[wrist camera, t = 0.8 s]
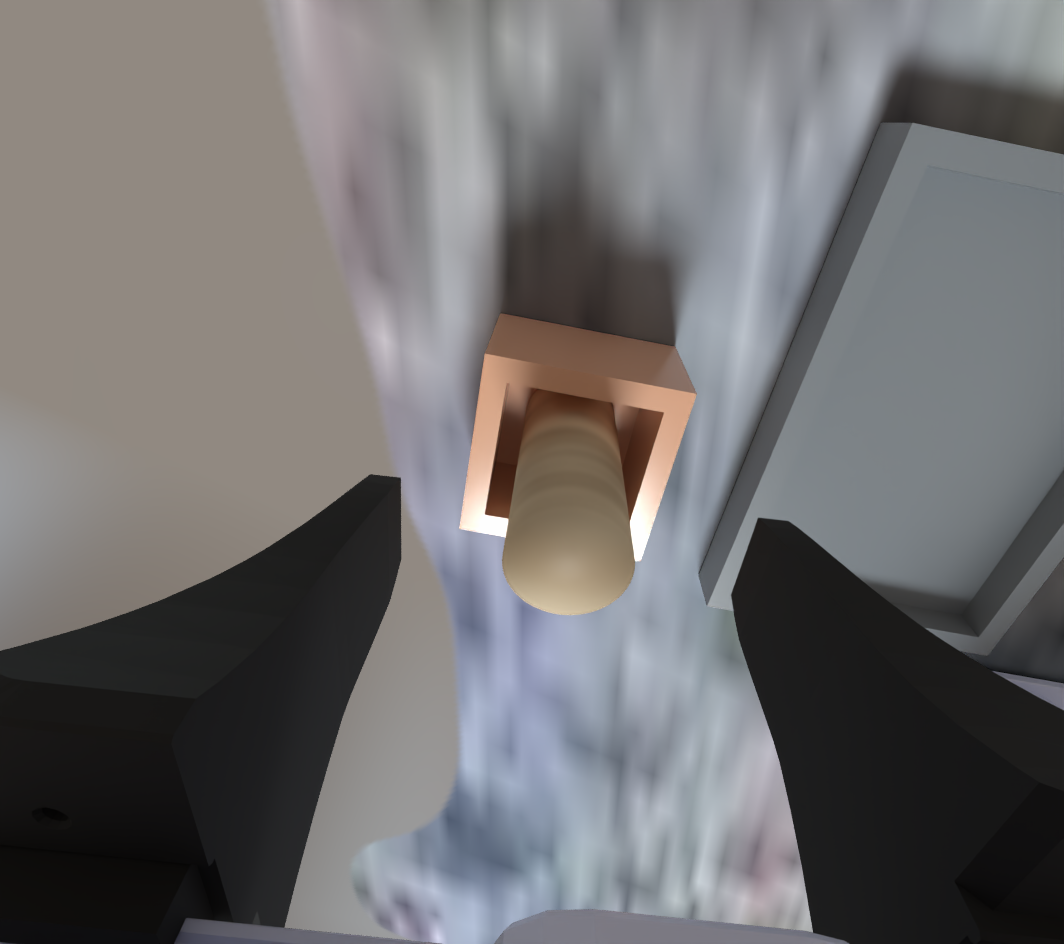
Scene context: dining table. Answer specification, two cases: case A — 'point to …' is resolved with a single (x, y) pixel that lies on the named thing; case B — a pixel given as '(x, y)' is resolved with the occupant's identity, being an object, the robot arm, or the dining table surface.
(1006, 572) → the tray
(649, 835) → the dining table surface
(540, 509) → the dowel
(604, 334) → the open box
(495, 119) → the dining table surface
